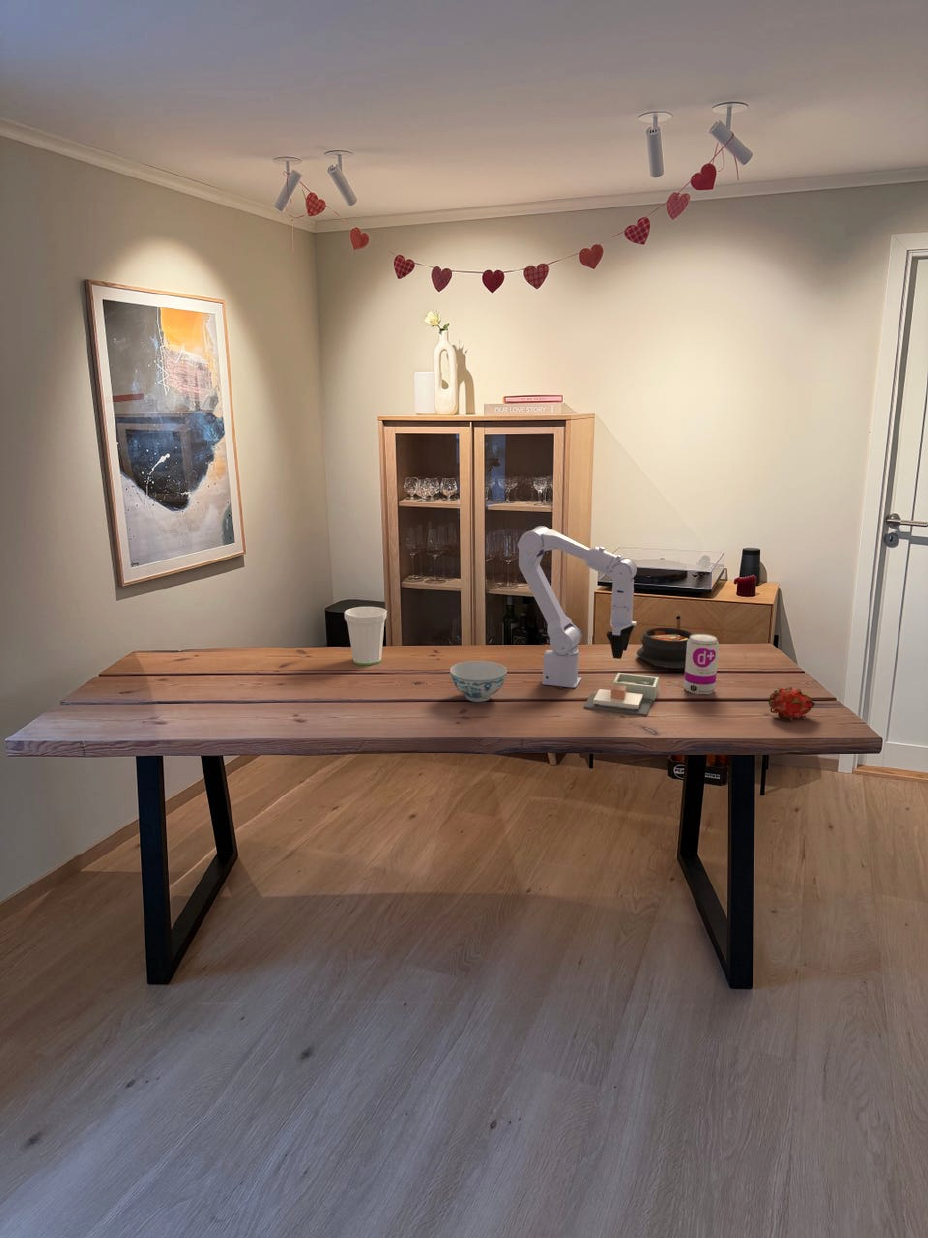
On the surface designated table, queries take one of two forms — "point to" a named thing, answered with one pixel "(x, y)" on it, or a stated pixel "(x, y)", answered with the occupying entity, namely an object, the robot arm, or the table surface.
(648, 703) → the mat
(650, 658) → the casserole
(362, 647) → the cup
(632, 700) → the lid
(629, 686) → the storage box
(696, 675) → the supplement can
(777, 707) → the dragon fruit
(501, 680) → the chinaware
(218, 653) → the table surface
